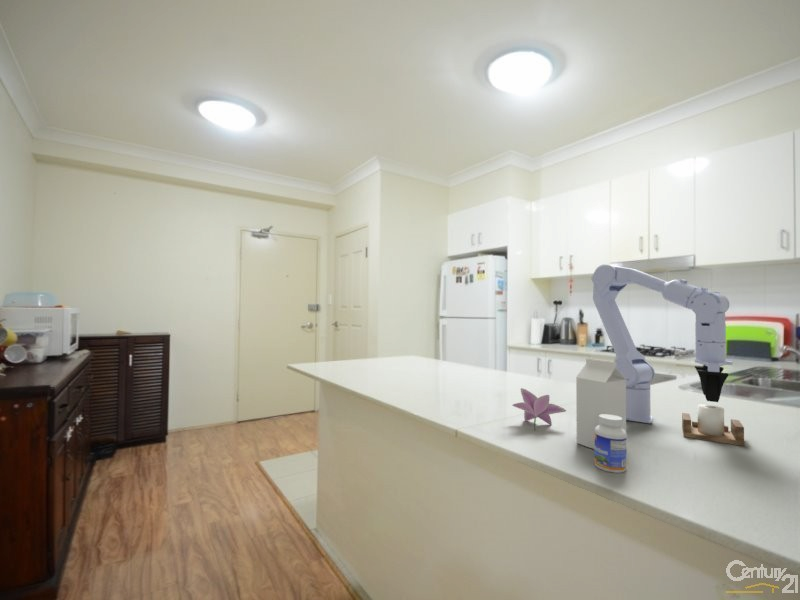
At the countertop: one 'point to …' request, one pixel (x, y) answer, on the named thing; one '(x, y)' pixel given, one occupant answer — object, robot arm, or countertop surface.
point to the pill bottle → (610, 444)
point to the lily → (537, 407)
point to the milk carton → (598, 397)
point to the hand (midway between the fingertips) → (710, 398)
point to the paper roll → (711, 420)
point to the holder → (729, 436)
